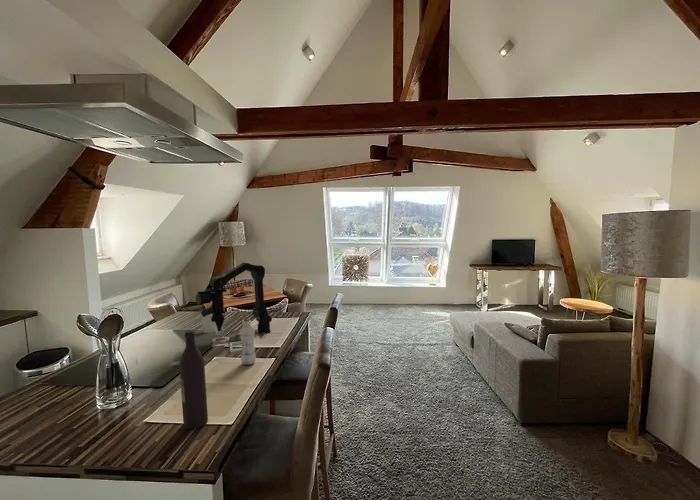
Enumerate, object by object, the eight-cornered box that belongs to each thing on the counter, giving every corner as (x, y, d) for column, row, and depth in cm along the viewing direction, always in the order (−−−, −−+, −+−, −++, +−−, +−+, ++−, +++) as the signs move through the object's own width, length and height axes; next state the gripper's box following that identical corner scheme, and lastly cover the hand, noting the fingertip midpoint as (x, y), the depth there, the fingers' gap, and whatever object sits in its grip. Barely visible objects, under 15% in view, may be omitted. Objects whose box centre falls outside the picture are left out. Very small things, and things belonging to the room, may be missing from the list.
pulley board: (247, 337, 192) (246, 329, 192) (248, 344, 180) (247, 336, 179) (213, 341, 186) (212, 333, 186) (211, 349, 174) (211, 341, 174)
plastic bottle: (238, 366, 152) (235, 322, 150) (246, 360, 158) (244, 318, 157) (251, 367, 150) (248, 322, 149) (258, 361, 157) (256, 318, 155)
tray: (254, 344, 180) (254, 339, 180) (255, 351, 169) (255, 346, 169) (230, 347, 176) (230, 342, 176) (230, 355, 165) (229, 350, 165)
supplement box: (220, 330, 206) (219, 310, 205) (209, 334, 200) (208, 313, 199) (212, 328, 210) (211, 308, 209) (202, 332, 204) (200, 311, 203)
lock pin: (223, 332, 183) (222, 318, 183) (223, 334, 180) (222, 320, 179) (215, 333, 182) (214, 319, 181) (215, 335, 178) (214, 321, 178)
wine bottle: (196, 415, 113) (190, 327, 110) (212, 419, 110) (207, 329, 108) (178, 427, 106) (171, 333, 104) (195, 432, 103) (189, 336, 101)
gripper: (202, 299, 186) (204, 327, 187) (199, 306, 168) (201, 337, 169) (224, 297, 189) (225, 324, 190) (223, 304, 172) (225, 334, 173)
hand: (219, 330), depth 181 cm, fingers closed on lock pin, 4 cm apart
